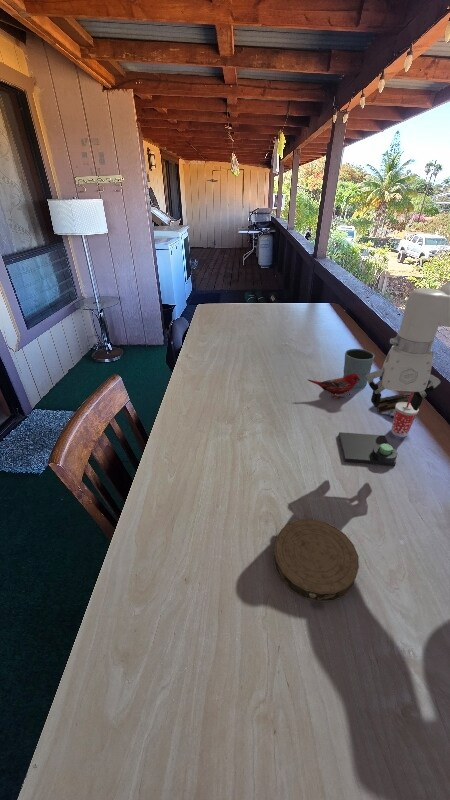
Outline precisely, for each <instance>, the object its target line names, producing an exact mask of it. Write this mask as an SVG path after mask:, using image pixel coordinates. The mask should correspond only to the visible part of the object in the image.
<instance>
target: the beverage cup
mask: <svg viewBox="0 0 450 800" xmlns="http://www.w3.org/2000/svg"><path fill="white" fill-rule="evenodd" d="M413 394H414V392H411V393H410V397H409V400H408V403H407V402H399V403H397V404H396V407H395V409H396V410H395V415H394V418H393V419H392V420H393V421H392V425H391V430H390V431H391V433H392V434H393V435H394V436H396V437H400V438H405V437H407V436H408V435H409V432H410V430H411V429H412V428H411V427H412V425H413V423H414V421H415V418H416V416H417V415H418V413H419V411H420V409H419V408H418V410H417V411H416V410H414V409H413V408H412V406H411V403H410V400H411V396H413Z"/></svg>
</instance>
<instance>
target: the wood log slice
mask: <svg viewBox="0 0 450 800" xmlns="http://www.w3.org/2000/svg"><path fill="white" fill-rule="evenodd" d="M273 564H274V569H275V571H276V573H277V575H278V577H279V579H280V581H281V582H282V583H283V584H284V585H285V586H286V587H287V588H288V589H289V590H290V591H291V592H292V593H294V594H296V595H298V596H299V597H301V598H303V599H305V600H309V601H313V602H317V603H326V602H334V601H337V600H340V599H341V598H343V597H345V596H346V595H347V594H348V593H349V592H350V591H351V590H352V589H353V587H354V584H355V581H356V578H357V575H358V571H359V569H360V562H359V554H358V551H357V549H356V547H355V545H354V543H353V542H352V541H351V539H350V538H349V537H348V536H347V535H346V533H344V532H343V531H342V530H340V529H339V528H338V527H336V526H335V525H332V524H331V523H328V522H325V521H323V520H318V519H314V518H308V519H307V518H305V519H303V518H301V519H297V520H294V521H292V522H289V523H288V524H286V525H285V526H284V527H282V528H281V529H280V531H279V532H278V534H277V536H276V537H275V542H274V550H273Z"/></svg>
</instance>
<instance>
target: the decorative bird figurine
mask: <svg viewBox="0 0 450 800" xmlns="http://www.w3.org/2000/svg"><path fill="white" fill-rule="evenodd" d="M358 380H361V379H360V378H359V377H358V375H357V374H355V373H352V374H348V375H347V376H345V377H343V376H342V377H339V378H338V377H337V378H331V379H327V380H323V381H317V380H314V379H313V380H312V379H307V381H308V382H309V383H312V384H315V385H318V386H319V387H320V388H321V389H322V390H323V391H326V392H327V393H330V394H331V395H330V397H332V398H336V399H341V398H344V399H345V396H340V395H343V394H347V393H348V392H349V391H351V390H352V389H354V388H353V387H354V385H355V384H356V383H357V381H358Z"/></svg>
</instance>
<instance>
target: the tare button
mask: <svg viewBox="0 0 450 800" xmlns="http://www.w3.org/2000/svg"><path fill="white" fill-rule="evenodd" d="M392 447H393V446H392V445H391V444H389V443H388V444H381V445H380V449H379V452H380V453H381V454H383V455H391V452H392V449H393V448H394V447H393V448H392Z"/></svg>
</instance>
